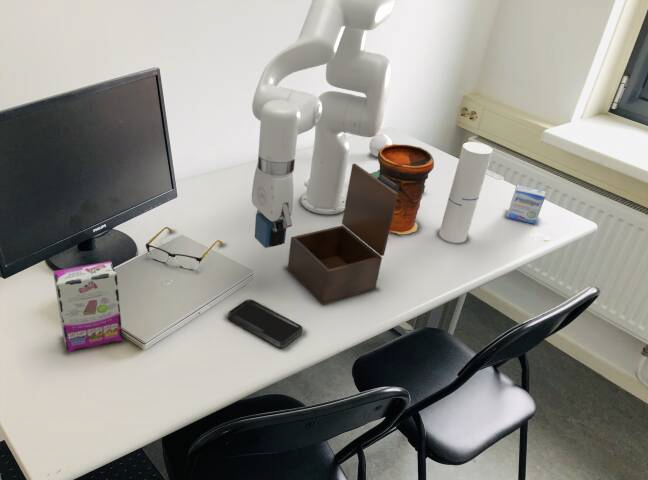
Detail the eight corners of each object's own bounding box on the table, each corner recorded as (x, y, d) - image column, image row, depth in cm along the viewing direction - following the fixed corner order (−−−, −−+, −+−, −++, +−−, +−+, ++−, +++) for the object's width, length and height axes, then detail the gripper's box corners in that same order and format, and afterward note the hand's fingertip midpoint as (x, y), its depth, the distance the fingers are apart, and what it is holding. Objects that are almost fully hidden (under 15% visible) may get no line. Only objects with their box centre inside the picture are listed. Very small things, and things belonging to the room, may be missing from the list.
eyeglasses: (144, 259, 156) (143, 245, 153) (171, 231, 167) (171, 217, 164) (198, 274, 152) (199, 259, 150) (222, 244, 163) (223, 230, 161)
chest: (323, 304, 146) (328, 271, 141) (287, 268, 157) (291, 237, 151) (375, 289, 152) (382, 257, 147) (337, 255, 163) (342, 225, 157)
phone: (249, 298, 144) (304, 327, 137) (248, 302, 144) (304, 331, 137) (225, 313, 139) (282, 345, 132) (225, 318, 139) (281, 349, 132)
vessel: (360, 228, 175) (373, 158, 163) (372, 205, 186) (385, 138, 174) (413, 241, 171) (430, 171, 159) (423, 217, 182) (439, 150, 170)
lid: (395, 193, 137) (415, 189, 140) (352, 163, 148) (372, 160, 150) (381, 256, 146) (400, 251, 149) (341, 223, 157) (360, 219, 159)
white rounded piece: (362, 155, 214) (366, 133, 209) (376, 149, 218) (380, 128, 214) (387, 165, 208) (391, 144, 204) (401, 160, 213) (405, 138, 208)
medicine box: (506, 218, 185) (515, 190, 180) (507, 211, 188) (516, 184, 183) (535, 224, 183) (545, 197, 178) (536, 217, 186) (546, 190, 181)
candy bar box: (117, 326, 135) (112, 259, 125) (123, 341, 131) (118, 273, 122) (61, 337, 131) (52, 269, 121) (66, 353, 127) (56, 284, 118)
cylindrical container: (466, 244, 171) (494, 155, 157) (439, 240, 172) (463, 151, 157) (465, 231, 177) (491, 144, 162) (438, 227, 178) (462, 140, 163)
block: (254, 237, 146) (255, 213, 142) (273, 232, 148) (275, 209, 144) (265, 248, 142) (267, 224, 139) (284, 243, 145) (287, 220, 141)
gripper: (240, 149, 138) (237, 223, 149) (281, 184, 127) (274, 262, 138) (271, 144, 141) (265, 217, 152) (313, 177, 130) (304, 254, 141)
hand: (269, 237), depth 145 cm, fingers closed on block, 5 cm apart
